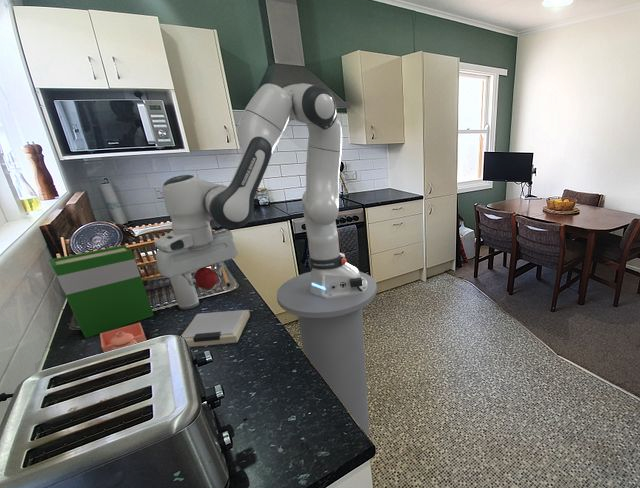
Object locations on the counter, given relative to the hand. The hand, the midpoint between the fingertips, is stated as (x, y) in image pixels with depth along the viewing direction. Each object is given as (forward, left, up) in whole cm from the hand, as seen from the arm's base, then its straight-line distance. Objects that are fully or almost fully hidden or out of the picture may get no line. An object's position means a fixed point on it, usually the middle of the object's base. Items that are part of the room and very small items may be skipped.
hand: (206, 280), depth 102 cm
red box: (+23, +6, -19) cm, 30 cm away
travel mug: (+17, -21, -19) cm, 33 cm away
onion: (0, 0, -3) cm, 3 cm away
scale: (+2, -2, -19) cm, 19 cm away
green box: (+35, -13, -19) cm, 42 cm away
